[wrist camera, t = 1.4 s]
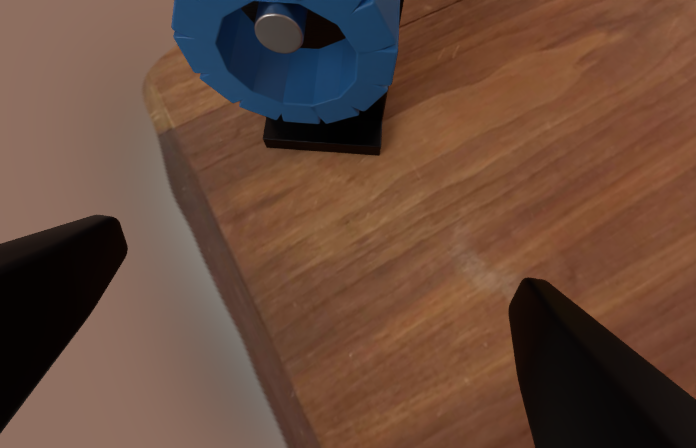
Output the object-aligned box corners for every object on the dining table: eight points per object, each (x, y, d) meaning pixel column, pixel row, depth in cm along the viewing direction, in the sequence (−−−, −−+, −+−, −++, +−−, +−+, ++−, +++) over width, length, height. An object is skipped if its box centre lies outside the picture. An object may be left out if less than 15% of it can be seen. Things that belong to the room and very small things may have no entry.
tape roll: (383, 129, 15) (415, -38, 8) (220, 118, 15) (117, -56, 8) (386, 74, 16) (417, -118, 9) (231, 64, 16) (146, -134, 9)
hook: (376, 209, 23) (431, -4, 8) (257, 200, 23) (105, -25, 9) (383, 84, 26) (433, -237, 11) (277, 77, 26) (190, -251, 11)
